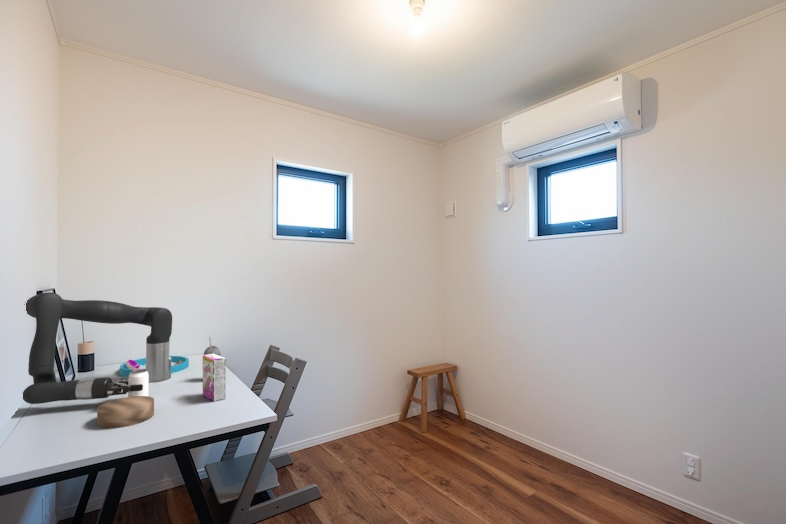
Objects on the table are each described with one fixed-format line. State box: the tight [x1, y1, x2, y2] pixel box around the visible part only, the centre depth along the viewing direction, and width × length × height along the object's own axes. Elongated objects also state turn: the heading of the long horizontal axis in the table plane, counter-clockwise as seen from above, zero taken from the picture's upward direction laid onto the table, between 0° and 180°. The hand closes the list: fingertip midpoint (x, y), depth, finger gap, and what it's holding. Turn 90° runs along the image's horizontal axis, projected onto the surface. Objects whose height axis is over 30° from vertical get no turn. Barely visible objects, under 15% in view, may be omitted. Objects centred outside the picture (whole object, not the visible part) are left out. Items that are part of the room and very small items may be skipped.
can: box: [127, 368, 150, 397], centre depth 148 cm, size 6×6×12 cm
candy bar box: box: [202, 354, 226, 402], centre depth 154 cm, size 11×5×16 cm, turn 47°
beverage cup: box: [203, 336, 221, 356], centre depth 178 cm, size 7×7×20 cm
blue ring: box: [119, 355, 190, 378], centre depth 197 cm, size 30×30×6 cm
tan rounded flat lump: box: [96, 395, 155, 429], centre depth 132 cm, size 16×16×5 cm
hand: (145, 384), depth 149 cm, fingers closed on can, 6 cm apart
